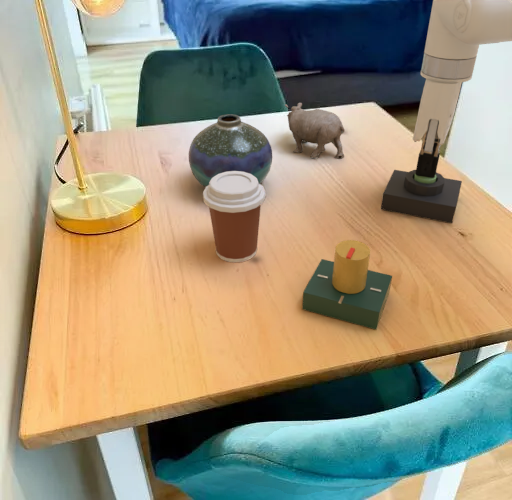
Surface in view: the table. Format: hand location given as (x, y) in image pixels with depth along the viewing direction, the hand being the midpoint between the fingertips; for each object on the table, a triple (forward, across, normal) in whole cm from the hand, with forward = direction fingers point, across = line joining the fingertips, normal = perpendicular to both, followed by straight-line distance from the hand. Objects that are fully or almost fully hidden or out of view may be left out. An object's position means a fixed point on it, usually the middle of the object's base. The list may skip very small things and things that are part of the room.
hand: (425, 174), depth 87 cm
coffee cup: (+6, +26, -24) cm, 36 cm away
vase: (+6, +7, -34) cm, 35 cm away
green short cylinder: (+2, 0, 0) cm, 2 cm away
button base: (+6, 0, 0) cm, 6 cm away
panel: (+5, +31, -5) cm, 32 cm away
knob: (+2, +31, -5) cm, 32 cm away
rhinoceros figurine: (+6, -15, -26) cm, 30 cm away
